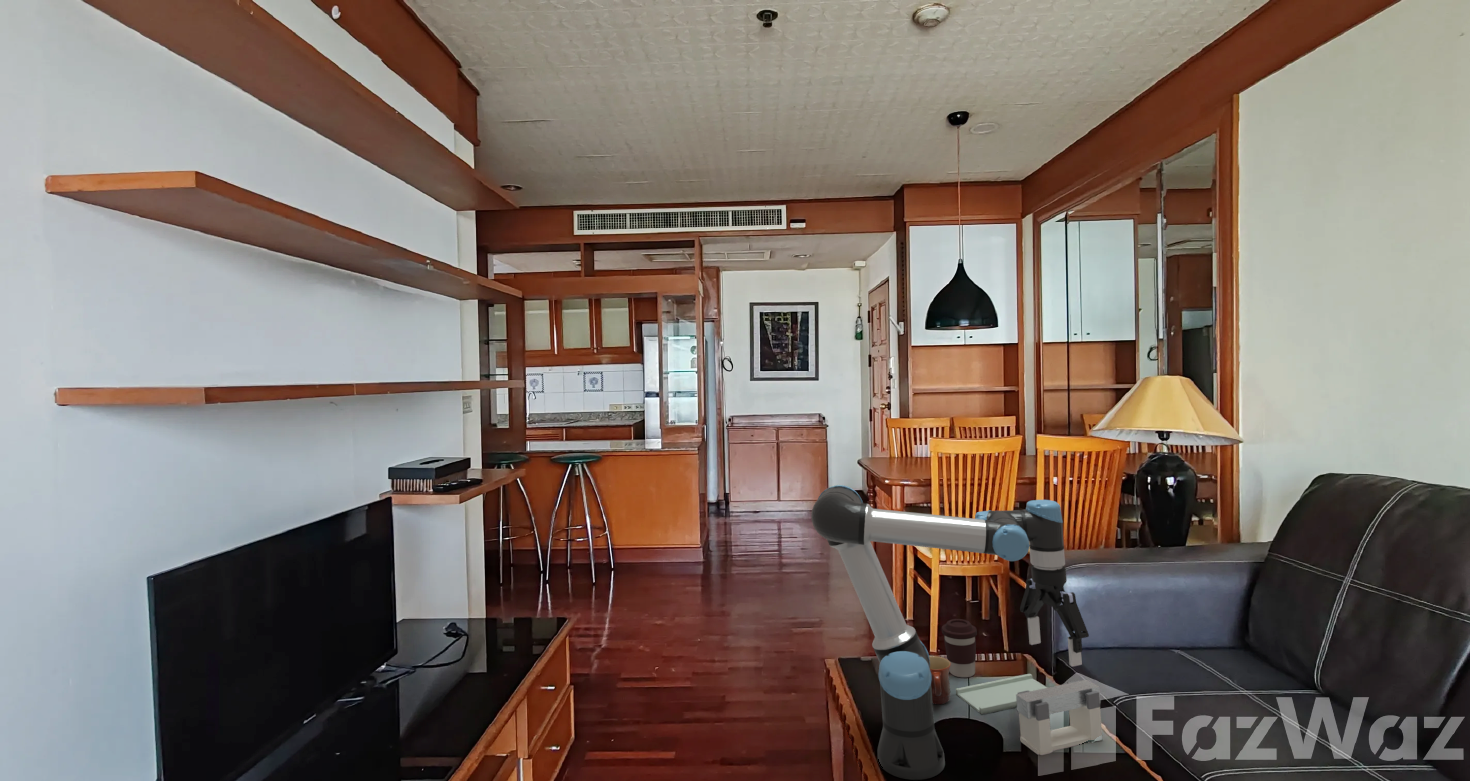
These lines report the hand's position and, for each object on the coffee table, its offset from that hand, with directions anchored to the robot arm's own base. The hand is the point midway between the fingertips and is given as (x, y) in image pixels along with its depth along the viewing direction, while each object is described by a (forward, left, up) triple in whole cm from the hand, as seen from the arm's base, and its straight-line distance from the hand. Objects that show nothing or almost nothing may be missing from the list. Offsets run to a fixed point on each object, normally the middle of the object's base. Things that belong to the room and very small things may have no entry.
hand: (1054, 653), depth 157 cm
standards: (0, 0, -21) cm, 21 cm away
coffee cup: (-1, +40, -21) cm, 45 cm away
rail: (0, 0, -13) cm, 13 cm away
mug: (-17, +27, -21) cm, 38 cm away
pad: (+2, +23, -21) cm, 31 cm away
